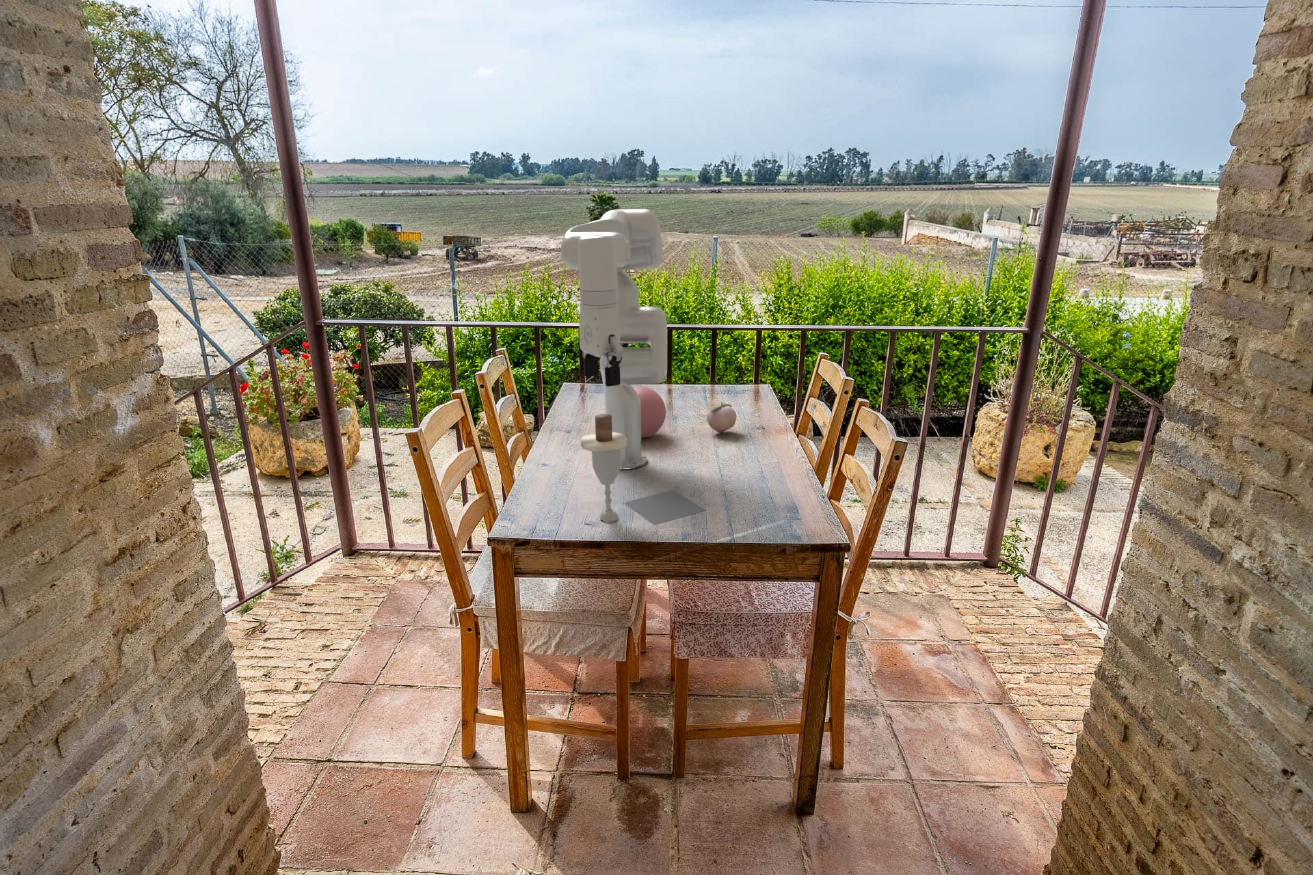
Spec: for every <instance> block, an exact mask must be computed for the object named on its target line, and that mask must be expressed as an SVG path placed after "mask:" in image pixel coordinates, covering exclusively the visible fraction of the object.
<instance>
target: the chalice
mask: <svg viewBox="0 0 1313 875" xmlns="http://www.w3.org/2000/svg"><path fill="white" fill-rule="evenodd" d="M591 462H592V468H593V471H594V474H595V475H596V478H597V480H598V481H599V483H600V484H601V485H604V486H605V490H604V492H603V494H604V496H605V499H604V500H603V501H604V502H605V508H604V509H602V510H601V511H600V513H599V516H598V519H599V518H600V520H603V521H606V522H605V523H613V522H612V521H614V522H616V521H618V520H619V518H618V517H619V514H618V512H617V511H616V510H615V509H614V508H612V506H611V503H612V501H613V499H612V498H611V494H612V491H611V488H610V487H611V485H614V484H615V481H616V479H617V477H618V475H619V474H620V473H619V472H620V470H621V469H620V467H621V449H620V450H617V451H612V452H592V451H591ZM600 520H599V521H600ZM615 520H616V521H615Z"/></svg>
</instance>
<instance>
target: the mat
mask: <svg viewBox="0 0 1313 875" xmlns="http://www.w3.org/2000/svg"><path fill="white" fill-rule="evenodd" d="M625 502H626V503H624V502H623V504H624V505H626V506H627V507H628V508H630V509H631V510H633V511H634V512H636V513H637V514H638V515H640V516H641V517H643V518H644V519H646V520H647V521H648V522H650V523H651V524H653V526H656V525H659V524H663V523H665V522H670V521H673V520H677V519H681V518H684V517H687V516H691V515H695V514H698V513H703V512H706V511H707V509H706V508H704V507H702V506H701V505H699V504H697V503H696V502H694V500H691V499H690V498H688V497H686V496H684V495H682V494H681V493H680V492H678V491H676V490H674V489H671V490H668V491H665V492H664V491H663V492H660V493H657V494H651V495H649V496H645V497H640V498H635V499H634V500H633V499H632V500H628V501H625Z"/></svg>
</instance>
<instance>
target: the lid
mask: <svg viewBox="0 0 1313 875" xmlns="http://www.w3.org/2000/svg"><path fill="white" fill-rule="evenodd" d="M594 427H595V428H594V429H595V432H592V433H589V434H586V435H584V436H583V437H581V438H580V444H581V445H580V447H581V448H582V449H583V450H585V451H588V452H591V453H592V452H612V451H617V450H620V449H623V448H625V447H626V446H627V437H626V436H625V435H623V434H621V433H616V432H612V415H610V414H605V413H598V414H595V416H594Z"/></svg>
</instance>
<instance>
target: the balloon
mask: <svg viewBox="0 0 1313 875" xmlns="http://www.w3.org/2000/svg"><path fill="white" fill-rule="evenodd" d="M633 388H634V390H635V391H636V392H637V394H638V395H639V398H640V403H641V439H645V437H646V438H648V437H652V436H653V435H654V434H656V433H657V432H659V430H660V429H661V428H662V427H663V425H664V423H665V421H666V417H667V409H666V404H665V402H664V399H663V398H662V397H661V395H660V394H659V393H658V392H656V391H655V390H653V389H652V388H650V387H647V386H635V387H633Z"/></svg>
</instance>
